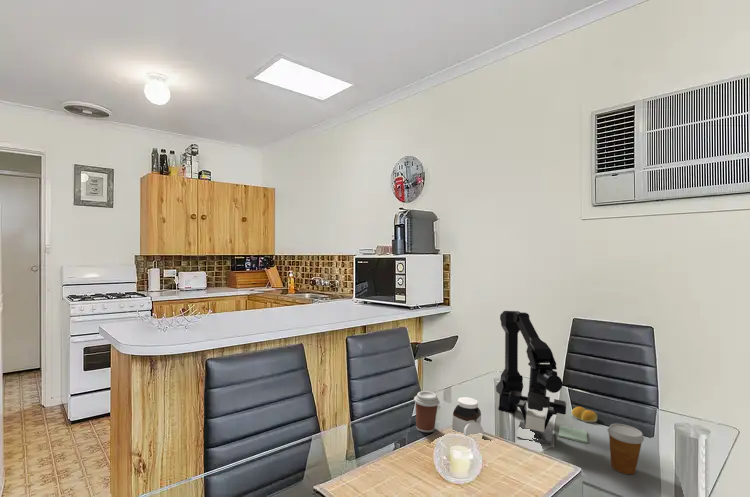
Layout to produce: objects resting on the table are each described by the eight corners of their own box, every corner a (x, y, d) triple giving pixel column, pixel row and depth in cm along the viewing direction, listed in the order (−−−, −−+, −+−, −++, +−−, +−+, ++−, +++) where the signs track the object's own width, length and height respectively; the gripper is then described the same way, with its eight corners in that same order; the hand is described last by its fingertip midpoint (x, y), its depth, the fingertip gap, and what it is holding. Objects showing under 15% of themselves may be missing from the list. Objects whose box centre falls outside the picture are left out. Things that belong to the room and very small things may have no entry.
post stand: (516, 437, 143) (517, 418, 143) (520, 425, 153) (521, 407, 153) (550, 445, 139) (552, 426, 139) (552, 432, 149) (553, 414, 148)
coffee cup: (407, 427, 147) (409, 393, 146) (422, 420, 153) (424, 388, 153) (428, 436, 140) (430, 401, 140) (443, 428, 147) (445, 395, 147)
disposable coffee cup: (598, 460, 131) (601, 422, 131) (627, 460, 132) (629, 423, 131) (618, 477, 121) (621, 437, 121) (649, 477, 122) (652, 437, 122)
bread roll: (592, 425, 157) (592, 414, 157) (568, 417, 164) (569, 406, 164) (600, 420, 163) (601, 410, 163) (577, 412, 169) (578, 402, 169)
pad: (558, 436, 146) (558, 434, 146) (559, 426, 154) (559, 425, 154) (587, 443, 142) (587, 441, 142) (586, 432, 150) (586, 431, 150)
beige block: (525, 427, 145) (526, 415, 144) (527, 421, 150) (528, 409, 150) (543, 432, 142) (544, 419, 142) (545, 425, 147) (545, 413, 147)
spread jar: (464, 426, 150) (466, 394, 150) (492, 437, 142) (494, 404, 142) (444, 435, 142) (446, 402, 142) (473, 449, 134) (475, 413, 134)
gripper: (507, 383, 142) (504, 428, 143) (566, 395, 134) (563, 442, 135) (511, 374, 152) (509, 416, 153) (567, 384, 144) (564, 429, 145)
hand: (535, 426), depth 146 cm, fingers closed on beige block, 6 cm apart
